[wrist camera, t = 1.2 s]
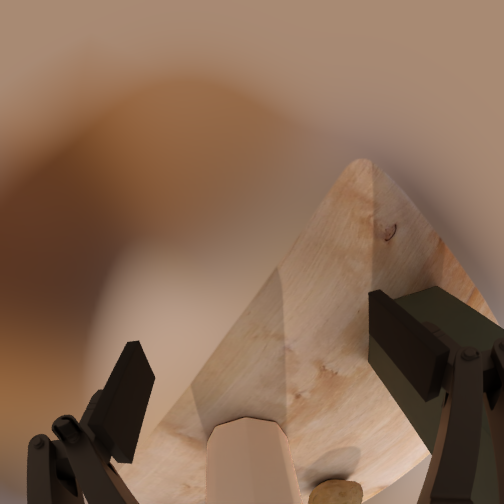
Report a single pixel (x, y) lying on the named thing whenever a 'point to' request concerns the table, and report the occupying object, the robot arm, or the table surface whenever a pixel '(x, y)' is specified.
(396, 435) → the table surface
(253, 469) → the cup
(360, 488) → the cut tuber
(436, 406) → the stand
